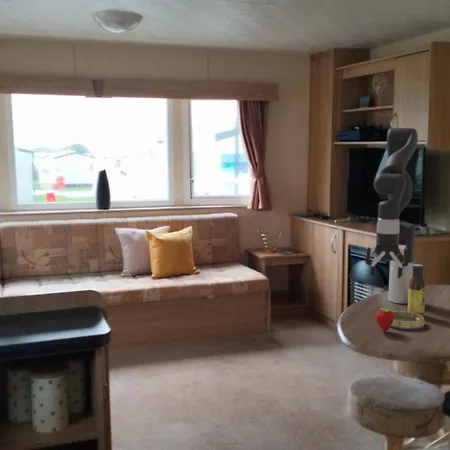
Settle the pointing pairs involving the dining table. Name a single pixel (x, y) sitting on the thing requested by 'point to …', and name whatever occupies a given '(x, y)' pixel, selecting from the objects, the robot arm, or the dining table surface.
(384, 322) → the strawberry
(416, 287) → the sauce bottle
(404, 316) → the tan rimmed round bowl
